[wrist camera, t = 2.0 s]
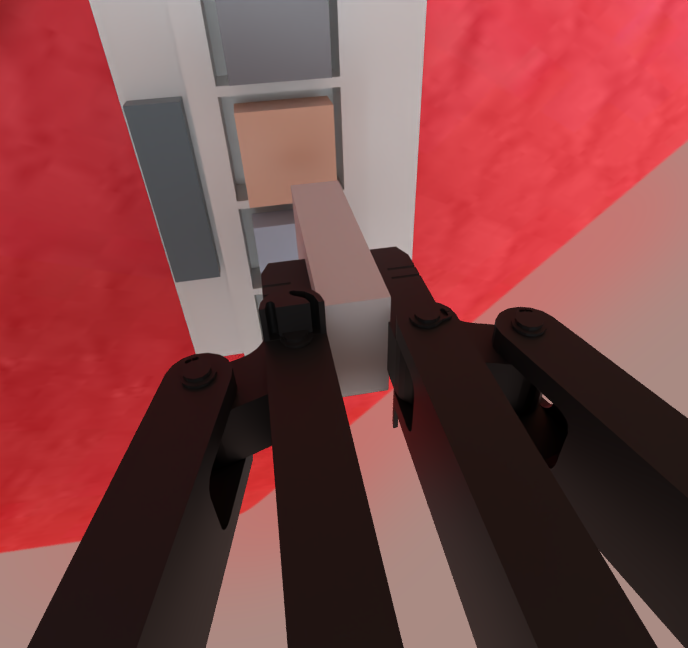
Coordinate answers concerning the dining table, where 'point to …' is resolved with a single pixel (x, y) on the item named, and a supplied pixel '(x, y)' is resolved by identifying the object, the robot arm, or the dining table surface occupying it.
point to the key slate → (275, 237)
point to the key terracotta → (285, 146)
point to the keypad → (224, 152)
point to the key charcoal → (275, 40)
